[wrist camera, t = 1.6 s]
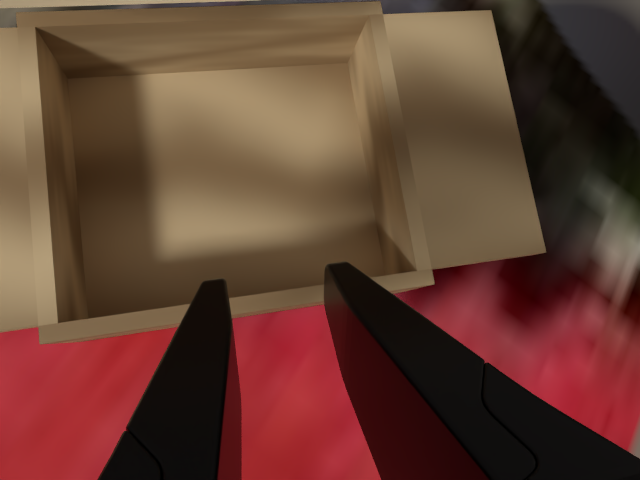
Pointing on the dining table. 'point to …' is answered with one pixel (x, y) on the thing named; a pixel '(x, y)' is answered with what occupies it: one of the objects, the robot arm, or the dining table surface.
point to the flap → (91, 2)
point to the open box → (247, 158)
